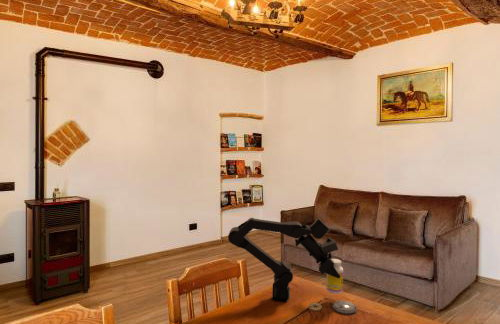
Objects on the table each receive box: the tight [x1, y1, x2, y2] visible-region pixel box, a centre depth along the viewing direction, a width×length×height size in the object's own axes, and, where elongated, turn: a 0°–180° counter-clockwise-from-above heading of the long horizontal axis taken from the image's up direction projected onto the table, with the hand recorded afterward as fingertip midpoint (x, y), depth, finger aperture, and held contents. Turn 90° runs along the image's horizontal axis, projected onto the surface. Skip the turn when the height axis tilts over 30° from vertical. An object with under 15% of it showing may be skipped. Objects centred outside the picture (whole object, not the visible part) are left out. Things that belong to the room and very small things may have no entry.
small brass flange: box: [308, 302, 323, 312], centre depth 139 cm, size 5×5×1 cm
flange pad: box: [332, 300, 357, 315], centre depth 139 cm, size 9×9×1 cm
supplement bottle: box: [325, 258, 344, 295], centre depth 145 cm, size 7×7×13 cm
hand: (338, 274), depth 145 cm, fingers closed on supplement bottle, 7 cm apart
